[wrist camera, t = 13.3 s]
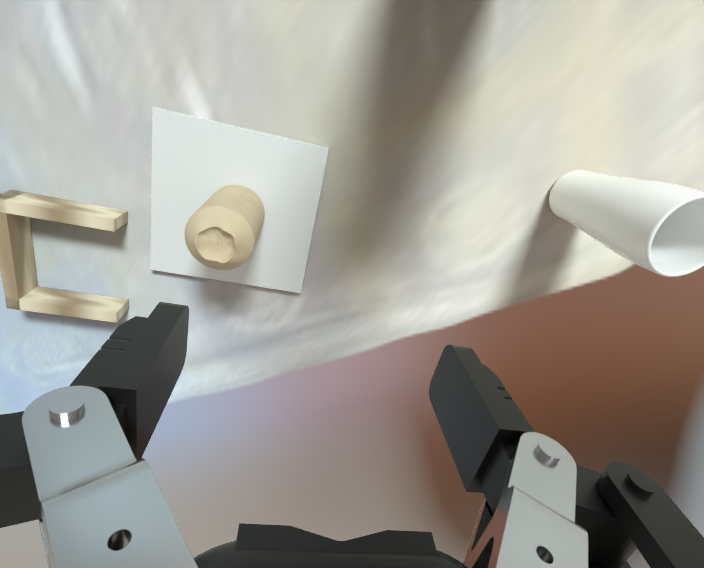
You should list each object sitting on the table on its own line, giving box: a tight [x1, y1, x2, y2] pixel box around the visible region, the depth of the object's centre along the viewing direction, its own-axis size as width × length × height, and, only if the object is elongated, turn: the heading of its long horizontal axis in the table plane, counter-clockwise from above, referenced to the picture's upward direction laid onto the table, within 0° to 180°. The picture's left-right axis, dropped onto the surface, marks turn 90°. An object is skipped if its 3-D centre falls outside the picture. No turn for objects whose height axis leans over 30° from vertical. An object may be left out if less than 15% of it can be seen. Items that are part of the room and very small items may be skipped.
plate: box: [150, 107, 329, 293], centre depth 39 cm, size 16×16×1 cm
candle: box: [184, 185, 265, 270], centre depth 34 cm, size 6×6×10 cm
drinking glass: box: [549, 170, 704, 277], centre depth 36 cm, size 7×7×15 cm
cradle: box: [0, 190, 129, 323], centre depth 38 cm, size 10×11×3 cm
